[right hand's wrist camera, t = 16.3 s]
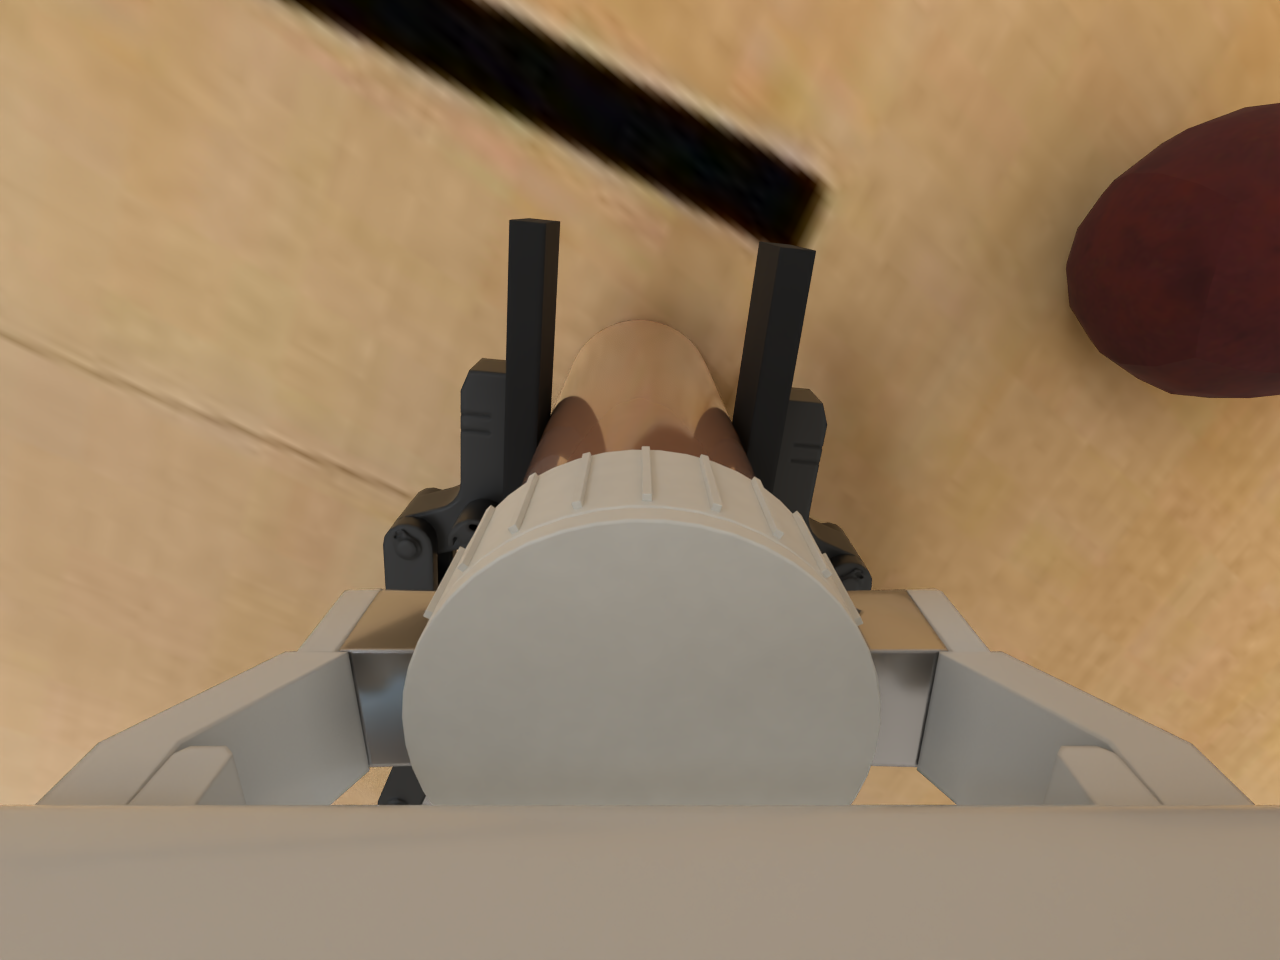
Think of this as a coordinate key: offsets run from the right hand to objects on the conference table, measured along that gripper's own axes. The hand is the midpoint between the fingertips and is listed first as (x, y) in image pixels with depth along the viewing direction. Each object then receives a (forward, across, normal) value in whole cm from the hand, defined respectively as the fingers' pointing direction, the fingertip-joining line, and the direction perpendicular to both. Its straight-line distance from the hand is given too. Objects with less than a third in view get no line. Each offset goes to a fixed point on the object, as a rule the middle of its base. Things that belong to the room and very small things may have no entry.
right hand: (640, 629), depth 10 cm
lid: (-2, 0, 0) cm, 2 cm away
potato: (+14, -16, -5) cm, 22 cm away
